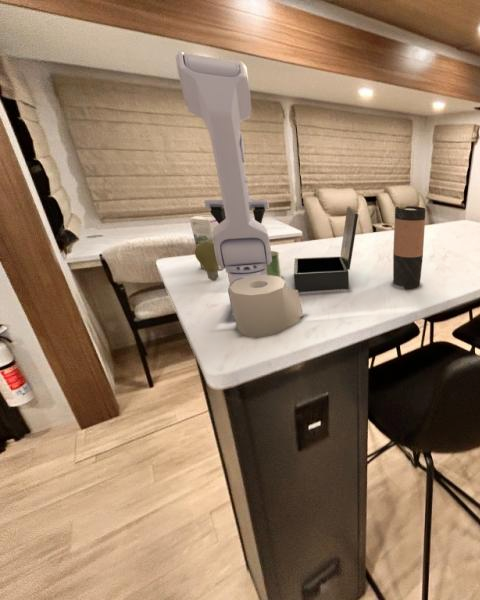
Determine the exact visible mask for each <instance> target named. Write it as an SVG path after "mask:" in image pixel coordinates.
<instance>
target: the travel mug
mask: <svg viewBox="0 0 480 600" xmlns="http://www.w3.org/2000/svg"><path fill="white" fill-rule="evenodd" d="M394 207H395V208H394V227H393V228H394V229H393V250H392V252H393V253H392V255H393V256H392V259H393V260H392V263H393V264H392V265H393V266H392V269H393V271H392V275H393V276H392V277H393V279H392V281H393V282H392V283H393V284H394V285H396V286H398V287H401V288H403V289H404V290H415V289H418V288H419V287H420V286H421V278H422V277H421V276H422V267H423V260H424V259H423V258H424V243H425V230H426V229H425V227H426V208H425V207H421V206H414V205H408V206H406V207H404V208H400V207H399V206H394Z"/></svg>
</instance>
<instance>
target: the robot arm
mask: <svg viewBox="0 0 480 600" xmlns="http://www.w3.org/2000/svg"><path fill="white" fill-rule="evenodd" d="M175 62H176V68H177V74H178V79H179V83H180V86H181V89H182V94H183V99H184V103H185V105H186V107H187V109H188V113H190V114H192V115H195V116H196V117H198V118H201V119H202V122H203V123H204V126H205V127H206V129H207V131H208V134H209V139H210V142H211V147H212V152H213V153H212V154H213V158H214V163H215V169H216V175H217V179H218V185H219V191H220V195H221V199H205V200H204V201H203V202H204V206H205V209H206V210H207V209H208V210H210V214H211V216H213V217H214V218H215V219H216V221H217V222H218V225H217V226H216V227H215V228H214V231H213V241H214V250H215V255H216V260H217V264H218V266H219V267H221V268H222V269H221V270H223V269H225V273H226V274H227V276H228V282H229V285H228V288H227V293H228V299H229V303H230V309H231V313H232V317H233V318H235V315H234V310H233V305H232V300H231V295H230V290H229V287H230V286H231V285H232V284H233V283H234V282H235V281H237V280H240V279H243V278H247V277H249V276H258V275H267V271H266V269H267V265H269V264H270V263H271V262H272V254H271V251H272V248H271V242H270V241H271V240H270V238H269V233H268V229H267V228H266V226H265V225H264V224H262V223H263V219H264V215H265V212H266V210H269V209H270V203H269V200H268V199H267V200H266V199H263V200H262V199H250V193H249V188H248V180H247V173H246V167H245V148H244V147H245V146H244V140H243V134H242V131H241V130H240V128H241V125H242V122H244V121H246V120H248V119H251V118H252V115H251V114H252V111H253V110H252V109H253V108H252V101H251V90H250V89H251V88H250V81H249V74H248V68H247V66H246V64H244V62H243V61H242V60H238V61H236V60H229V59H225V58H224V59H223V58H217V57H211V56H206V55H205V56H204V55H198V54H193V53H187V52H185V53H184V52H183V51H180V50H179V51H177V54H176V55H175ZM250 209H252V213H253V217H254V218H252V217H251V211H250ZM266 263H267V265H266Z"/></svg>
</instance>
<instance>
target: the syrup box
mask: <svg viewBox="0 0 480 600" xmlns="http://www.w3.org/2000/svg"><path fill="white" fill-rule="evenodd" d="M189 223H190V227H191V230H192V235H193V239H194V243H195V248H196V247H197V246H198V245H199V244H200V243H203V242H211V243H213V244H214V241H213V231H214V228H215V227H216V226H217V225H218V222H217V221H216V219H215V218H214V217H213V215H206V214H201V215H199V214H198V215H194V216H192V217H189ZM199 265H200V268H201V269H204V267H203V266H202V264H201V263H200V262H199ZM218 270H223V269H222V268H221V267H219V266H218Z"/></svg>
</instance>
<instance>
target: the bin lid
mask: <svg viewBox="0 0 480 600" xmlns="http://www.w3.org/2000/svg"><path fill="white" fill-rule="evenodd" d="M358 218H359V213H358V212H356V211H355V210H354V209H353V208H352V207H351V206H350V205H349V206H348V205H347V207H346V213H345V221H344V226H343V227H344V228H343V234H342V241H341V248H340V249H341V250H340V257H342V259H343V262H344V264H345V266H346V268H347V270H348V271H350V270H351V263H352V257H353V251H354V244H355V238H356V233H357V232H356V231H357V225H358Z"/></svg>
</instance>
